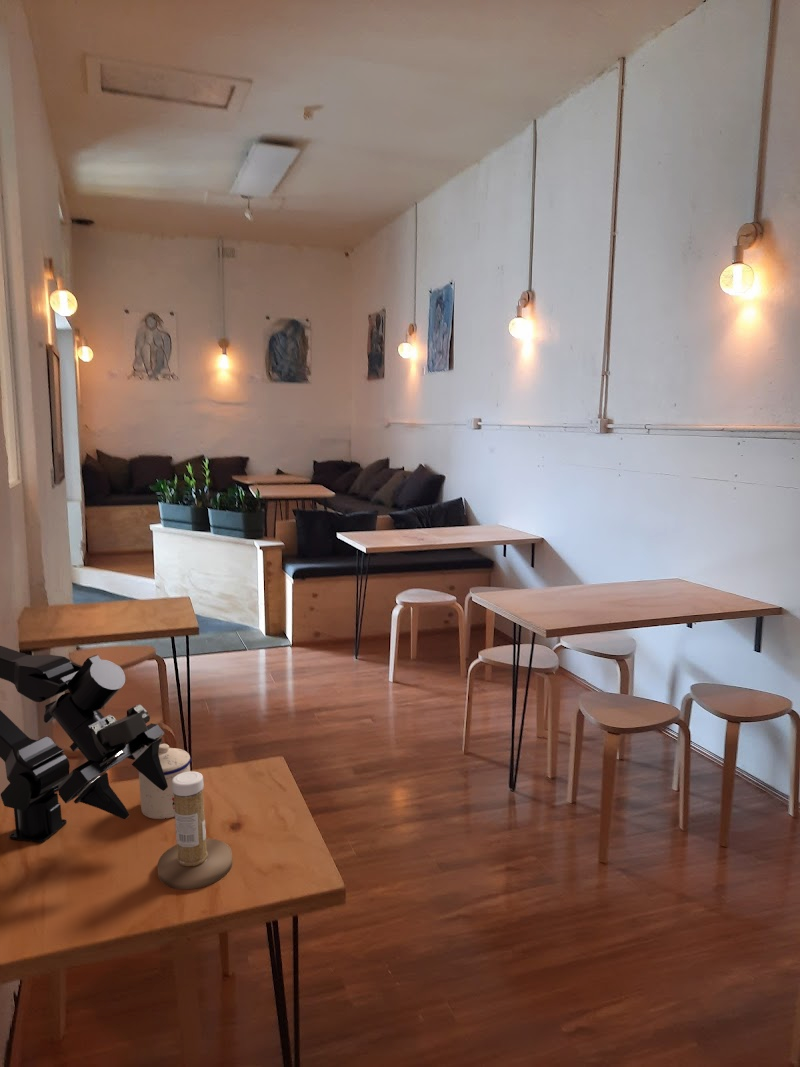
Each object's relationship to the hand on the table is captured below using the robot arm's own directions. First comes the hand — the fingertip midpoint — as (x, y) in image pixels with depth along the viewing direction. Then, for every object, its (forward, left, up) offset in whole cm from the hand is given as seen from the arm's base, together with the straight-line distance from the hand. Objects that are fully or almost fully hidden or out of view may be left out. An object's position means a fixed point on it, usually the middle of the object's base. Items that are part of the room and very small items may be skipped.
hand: (147, 802), depth 118 cm
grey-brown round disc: (+8, -1, -9) cm, 12 cm away
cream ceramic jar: (-6, +16, -9) cm, 19 cm away
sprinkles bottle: (+8, -1, -8) cm, 11 cm away
